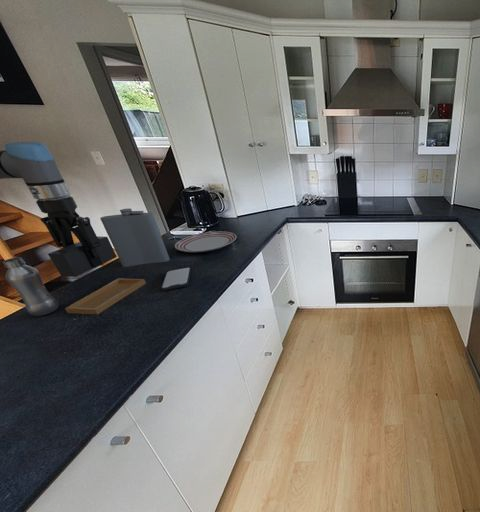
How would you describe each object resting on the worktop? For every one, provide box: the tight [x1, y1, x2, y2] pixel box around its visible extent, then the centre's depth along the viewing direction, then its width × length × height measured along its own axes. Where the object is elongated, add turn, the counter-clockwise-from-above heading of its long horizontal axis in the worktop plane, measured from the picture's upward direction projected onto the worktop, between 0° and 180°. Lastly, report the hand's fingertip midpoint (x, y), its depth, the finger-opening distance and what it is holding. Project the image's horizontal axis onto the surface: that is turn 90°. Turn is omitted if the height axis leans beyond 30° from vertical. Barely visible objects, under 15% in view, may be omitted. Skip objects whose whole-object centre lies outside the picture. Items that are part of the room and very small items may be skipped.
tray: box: [64, 277, 147, 315], centre depth 100 cm, size 11×20×2 cm, turn 177°
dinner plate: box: [174, 231, 238, 254], centre depth 141 cm, size 28×27×3 cm
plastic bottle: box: [2, 256, 60, 317], centre depth 87 cm, size 6×7×20 cm
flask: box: [99, 207, 171, 268], centre depth 119 cm, size 17×5×25 cm, turn 111°
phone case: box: [160, 267, 192, 292], centre depth 111 cm, size 9×2×16 cm
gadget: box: [47, 235, 118, 278], centre depth 91 cm, size 14×5×8 cm, turn 177°
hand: (89, 265), depth 92 cm, fingers closed on gadget, 5 cm apart
